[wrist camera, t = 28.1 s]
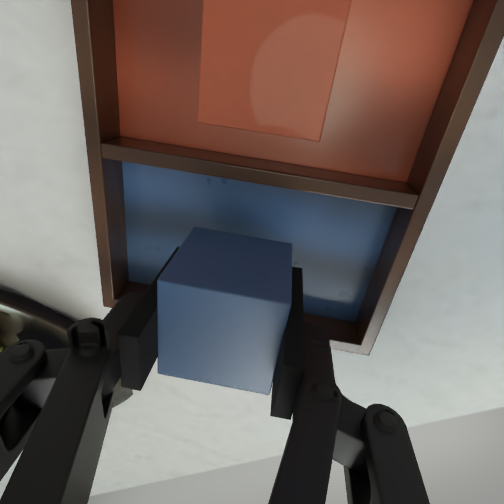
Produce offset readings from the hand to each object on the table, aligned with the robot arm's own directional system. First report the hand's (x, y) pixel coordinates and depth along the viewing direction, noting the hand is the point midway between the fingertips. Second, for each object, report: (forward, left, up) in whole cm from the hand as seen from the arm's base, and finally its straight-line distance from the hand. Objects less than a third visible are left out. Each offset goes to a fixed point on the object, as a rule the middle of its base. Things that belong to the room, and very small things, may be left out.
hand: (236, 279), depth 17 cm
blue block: (0, 0, 0) cm, 0 cm away
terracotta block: (+10, 0, -4) cm, 11 cm away
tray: (+5, 0, -5) cm, 7 cm away
